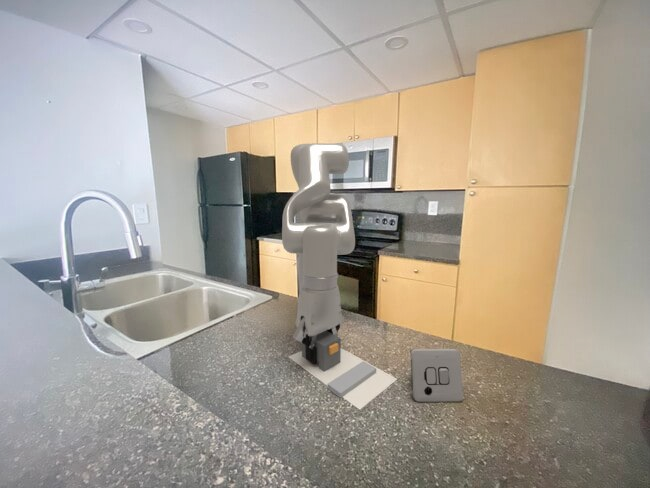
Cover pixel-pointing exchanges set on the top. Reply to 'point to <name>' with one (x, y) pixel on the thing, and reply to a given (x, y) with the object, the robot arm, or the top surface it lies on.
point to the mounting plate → (349, 378)
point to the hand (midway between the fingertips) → (320, 356)
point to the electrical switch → (436, 375)
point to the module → (326, 350)
